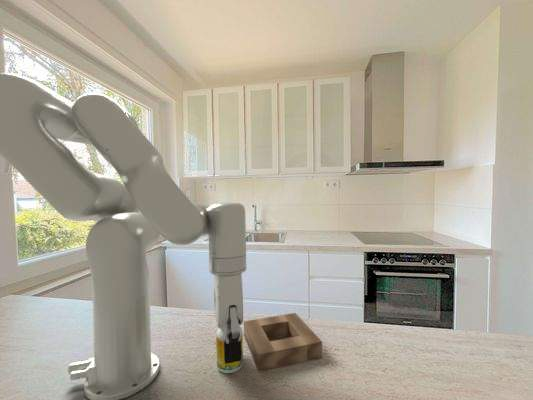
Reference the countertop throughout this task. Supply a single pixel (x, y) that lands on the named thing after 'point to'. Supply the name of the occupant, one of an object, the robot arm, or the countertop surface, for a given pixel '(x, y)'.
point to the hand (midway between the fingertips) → (229, 348)
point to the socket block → (281, 341)
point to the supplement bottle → (220, 352)
